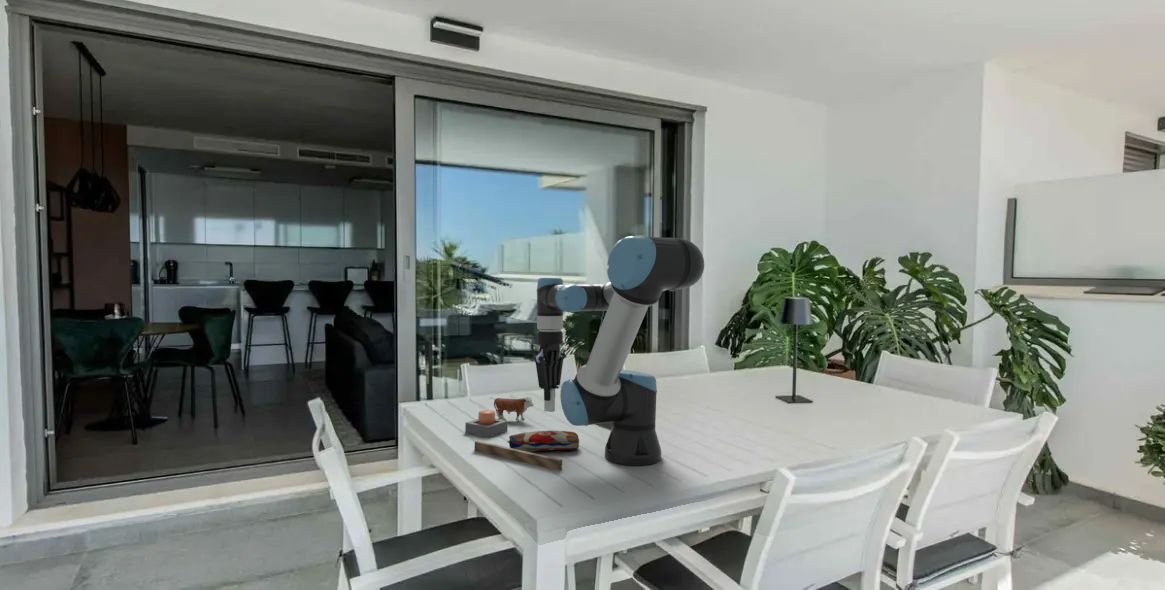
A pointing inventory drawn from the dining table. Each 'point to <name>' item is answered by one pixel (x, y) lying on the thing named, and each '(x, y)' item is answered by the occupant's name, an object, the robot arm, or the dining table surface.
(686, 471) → the dining table surface
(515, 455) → the rail
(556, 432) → the pencil case
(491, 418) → the button
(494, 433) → the button housing
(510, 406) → the bull figurine
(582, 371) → the robot arm
